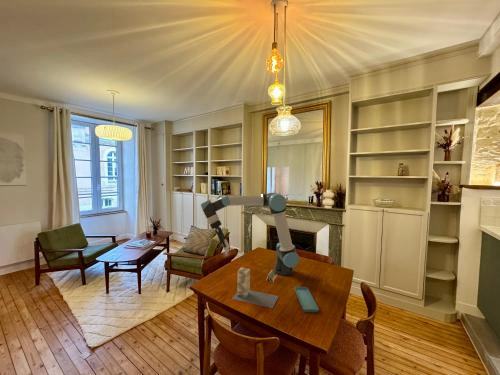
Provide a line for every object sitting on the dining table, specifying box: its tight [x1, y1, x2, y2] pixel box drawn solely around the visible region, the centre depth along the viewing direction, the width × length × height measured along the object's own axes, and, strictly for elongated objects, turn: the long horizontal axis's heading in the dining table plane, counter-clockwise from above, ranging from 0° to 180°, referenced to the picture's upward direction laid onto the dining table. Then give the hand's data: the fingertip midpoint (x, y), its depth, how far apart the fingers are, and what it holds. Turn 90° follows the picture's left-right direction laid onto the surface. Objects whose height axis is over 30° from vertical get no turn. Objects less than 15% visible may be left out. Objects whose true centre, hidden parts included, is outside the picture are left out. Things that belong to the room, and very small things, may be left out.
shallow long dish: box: [293, 286, 320, 313], centre depth 137 cm, size 26×9×2 cm, turn 0°
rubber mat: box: [231, 289, 279, 310], centre depth 138 cm, size 26×14×1 cm, turn 68°
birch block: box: [236, 267, 251, 298], centre depth 141 cm, size 6×6×16 cm
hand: (227, 249), depth 153 cm, fingers open, 13 cm apart
